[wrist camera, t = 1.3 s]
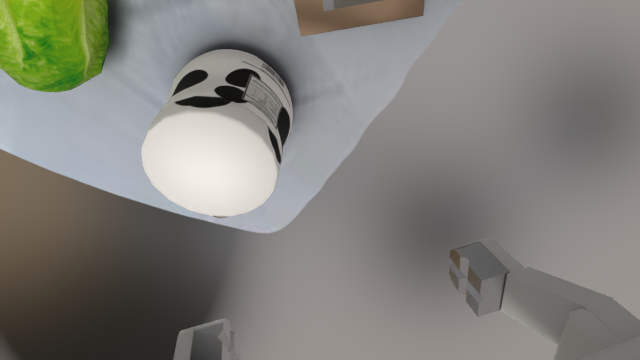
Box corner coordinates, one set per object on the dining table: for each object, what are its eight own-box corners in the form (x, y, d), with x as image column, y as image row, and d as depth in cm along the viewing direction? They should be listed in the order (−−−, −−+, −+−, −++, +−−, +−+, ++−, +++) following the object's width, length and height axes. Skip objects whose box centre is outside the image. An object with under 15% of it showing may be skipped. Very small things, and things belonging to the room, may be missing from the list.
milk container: (185, 135, 55) (143, 213, 42) (175, 29, 44) (113, 89, 31) (287, 150, 58) (278, 229, 44) (302, 53, 46) (297, 118, 33)
